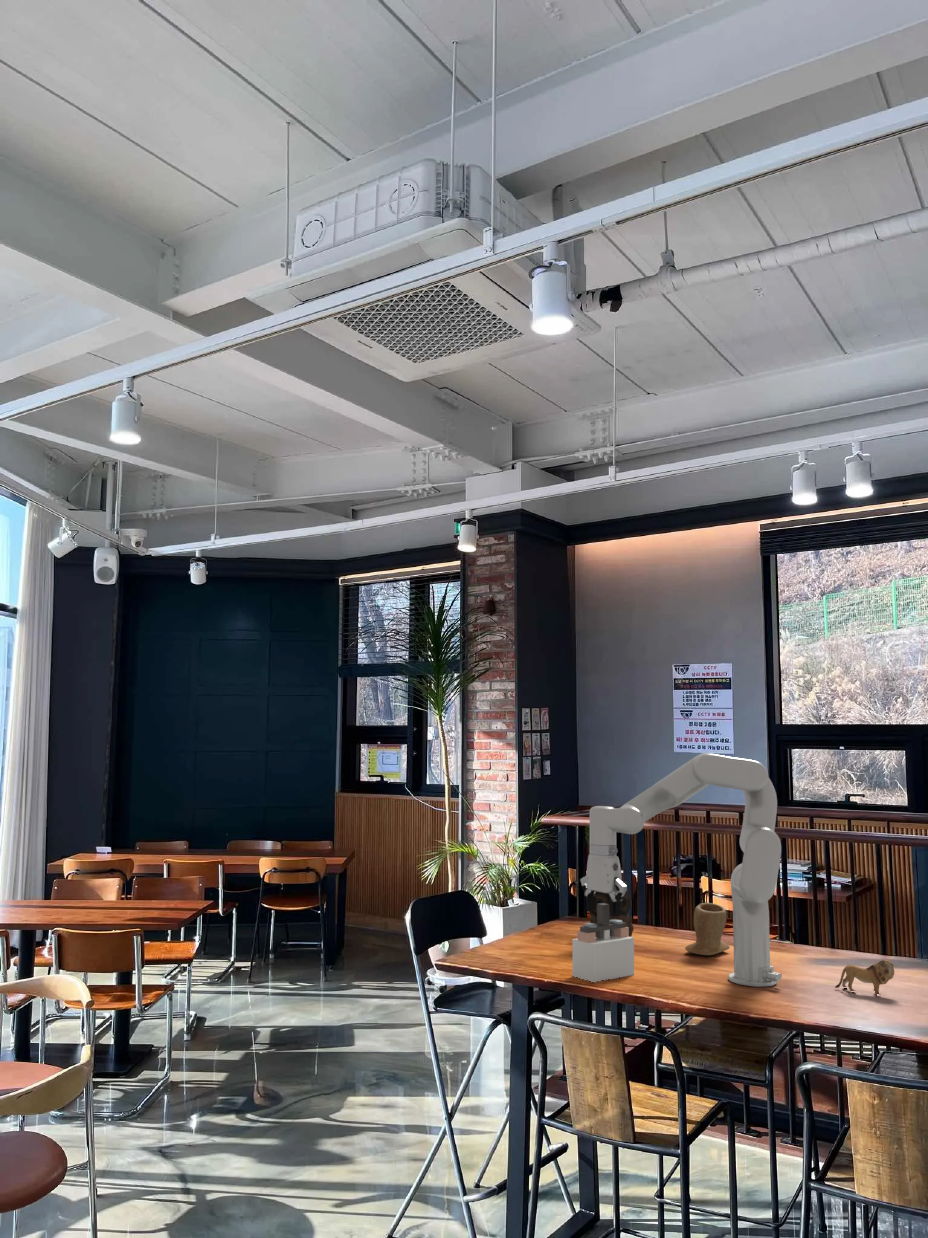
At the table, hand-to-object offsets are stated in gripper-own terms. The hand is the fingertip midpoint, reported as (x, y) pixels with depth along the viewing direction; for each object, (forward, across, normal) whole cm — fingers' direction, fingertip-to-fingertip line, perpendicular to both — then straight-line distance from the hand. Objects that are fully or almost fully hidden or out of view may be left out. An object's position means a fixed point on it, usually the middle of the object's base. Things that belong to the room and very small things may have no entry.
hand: (603, 913), depth 262 cm
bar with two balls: (+6, 0, 0) cm, 6 cm away
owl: (+17, +28, -30) cm, 44 cm away
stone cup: (+17, +2, -48) cm, 51 cm away
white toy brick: (+17, 0, 0) cm, 17 cm away
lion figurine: (+17, -51, -46) cm, 71 cm away
